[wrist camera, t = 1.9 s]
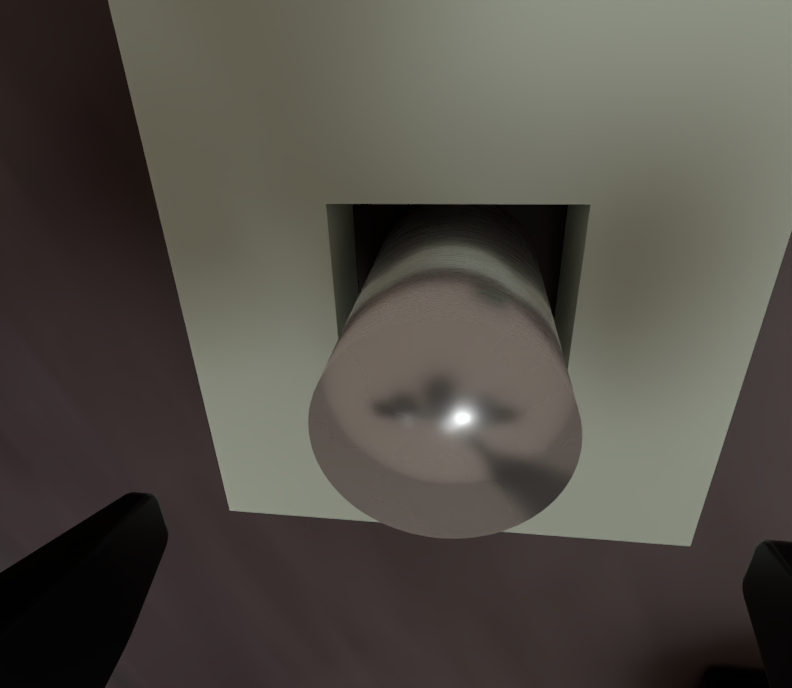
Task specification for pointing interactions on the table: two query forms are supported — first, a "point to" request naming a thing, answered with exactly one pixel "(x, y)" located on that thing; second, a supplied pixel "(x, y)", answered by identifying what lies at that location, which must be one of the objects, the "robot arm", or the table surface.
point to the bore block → (475, 184)
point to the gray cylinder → (449, 382)
